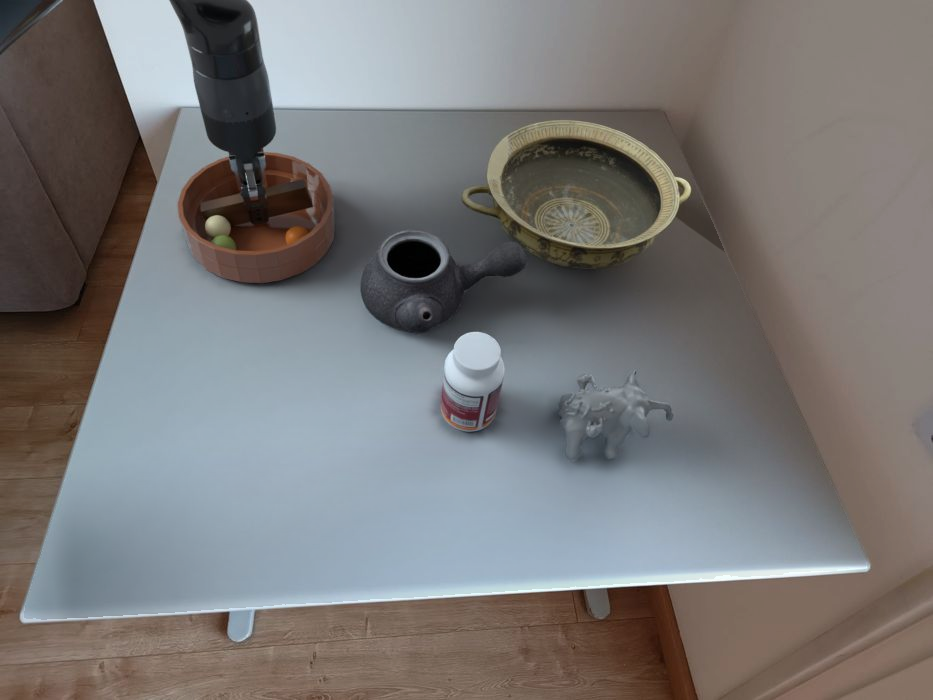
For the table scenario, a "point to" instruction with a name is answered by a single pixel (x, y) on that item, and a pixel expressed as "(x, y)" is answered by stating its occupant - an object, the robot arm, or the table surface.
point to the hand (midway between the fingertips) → (258, 214)
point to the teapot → (426, 279)
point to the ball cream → (217, 226)
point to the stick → (278, 199)
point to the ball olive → (224, 242)
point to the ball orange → (295, 234)
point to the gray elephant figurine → (606, 414)
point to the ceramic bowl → (579, 193)
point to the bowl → (265, 243)
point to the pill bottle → (472, 382)
